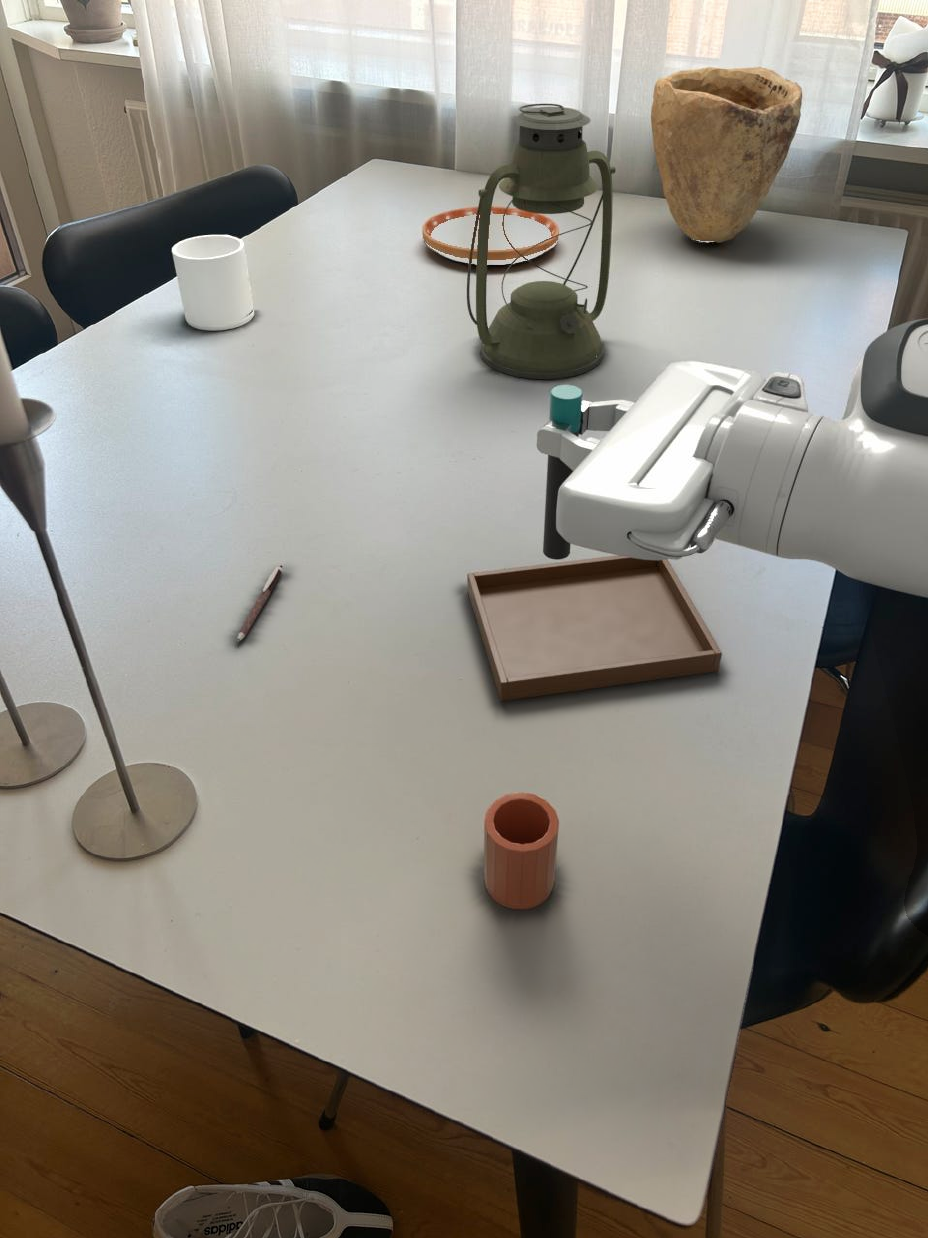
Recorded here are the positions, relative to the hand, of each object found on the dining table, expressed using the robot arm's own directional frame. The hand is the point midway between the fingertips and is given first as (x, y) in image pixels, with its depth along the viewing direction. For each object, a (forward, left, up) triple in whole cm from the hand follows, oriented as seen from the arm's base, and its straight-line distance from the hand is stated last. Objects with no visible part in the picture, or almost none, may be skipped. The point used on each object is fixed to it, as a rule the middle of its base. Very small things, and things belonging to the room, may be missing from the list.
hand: (552, 423), depth 65 cm
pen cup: (+6, +18, -25) cm, 31 cm away
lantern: (-16, -65, -25) cm, 72 cm away
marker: (-1, +1, -10) cm, 10 cm away
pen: (+23, -16, -25) cm, 38 cm away
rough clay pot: (-54, -101, -25) cm, 117 cm away
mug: (+27, -87, -25) cm, 95 cm away
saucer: (-18, -106, -25) cm, 110 cm away
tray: (-6, -7, -25) cm, 27 cm away
